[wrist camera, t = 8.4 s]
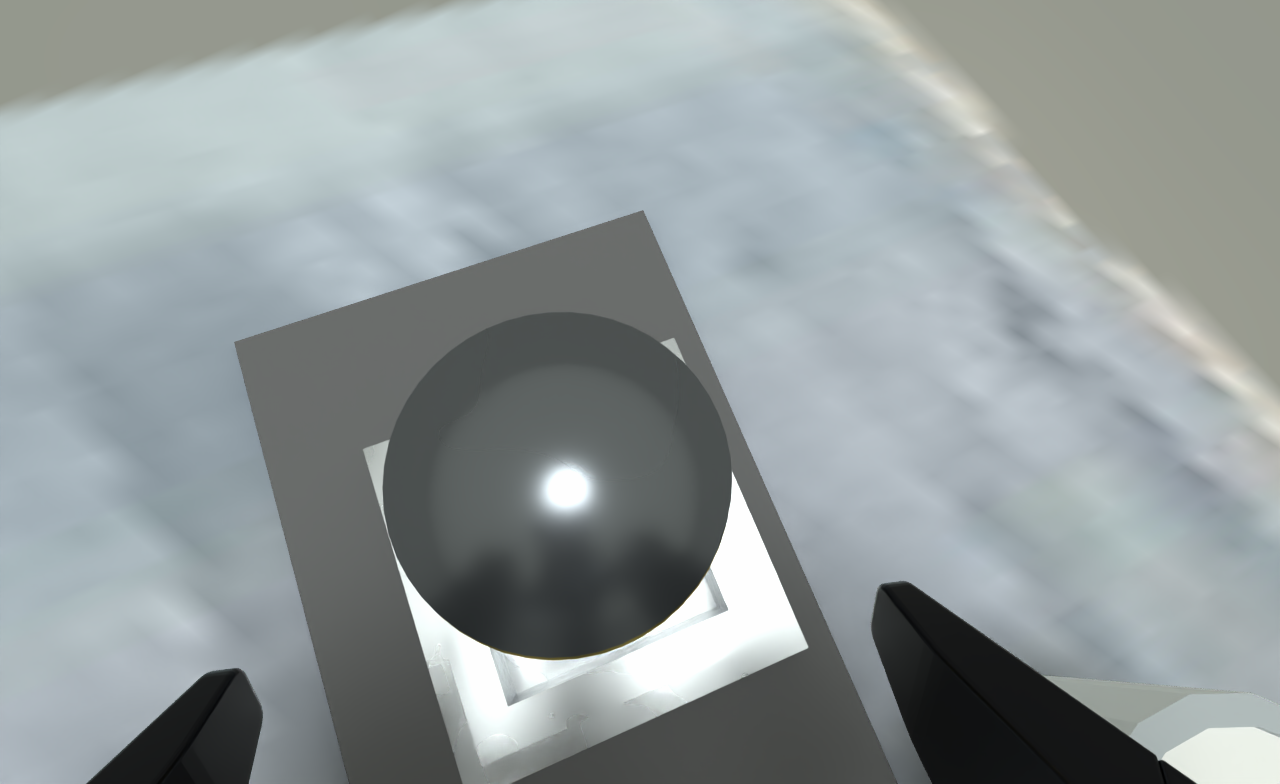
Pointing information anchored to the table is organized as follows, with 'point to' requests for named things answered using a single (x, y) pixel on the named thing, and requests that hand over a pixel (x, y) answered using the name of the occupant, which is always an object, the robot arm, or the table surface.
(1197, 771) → the white cylinder
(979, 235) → the table surface
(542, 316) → the grey yellow-banded cylinder
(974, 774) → the robot arm
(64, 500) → the table surface
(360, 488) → the mat
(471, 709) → the silver square tray
